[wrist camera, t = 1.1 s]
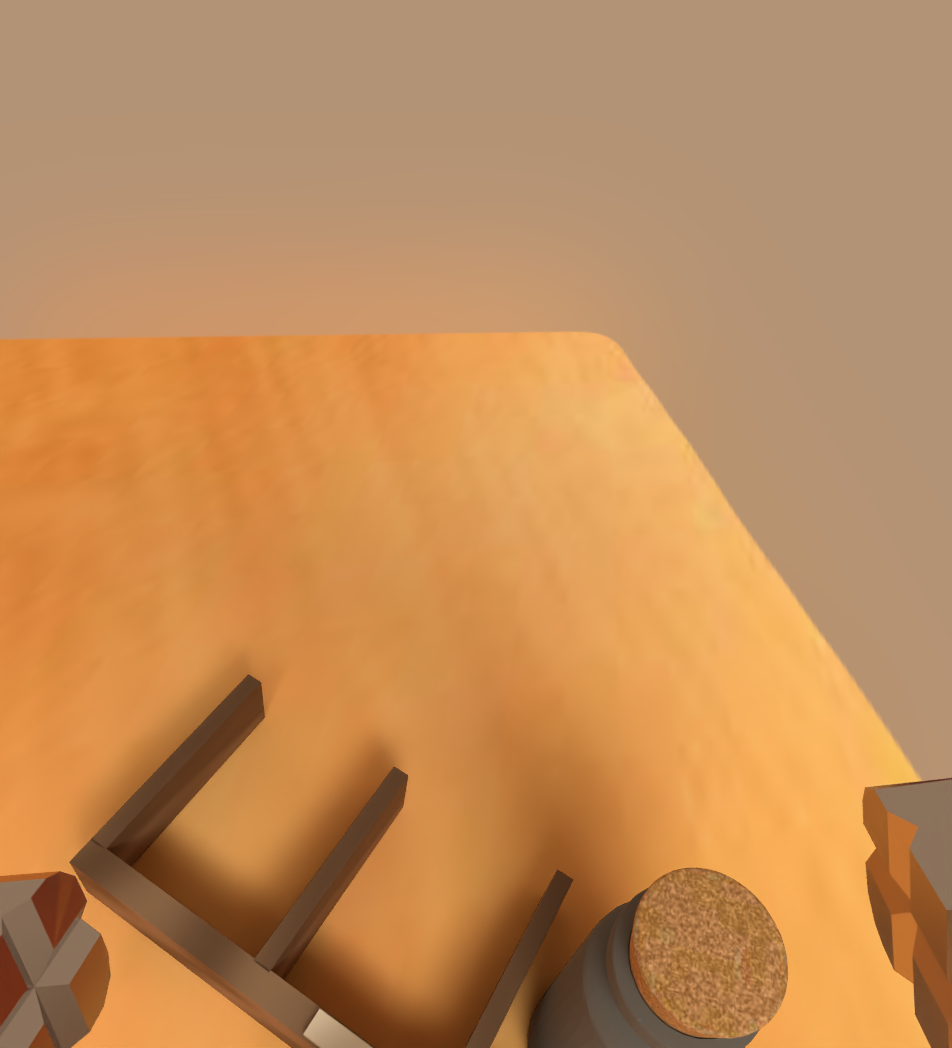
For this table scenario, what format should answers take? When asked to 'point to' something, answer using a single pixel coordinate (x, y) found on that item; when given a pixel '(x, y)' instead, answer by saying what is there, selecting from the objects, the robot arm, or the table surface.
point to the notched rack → (260, 980)
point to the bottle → (670, 971)
